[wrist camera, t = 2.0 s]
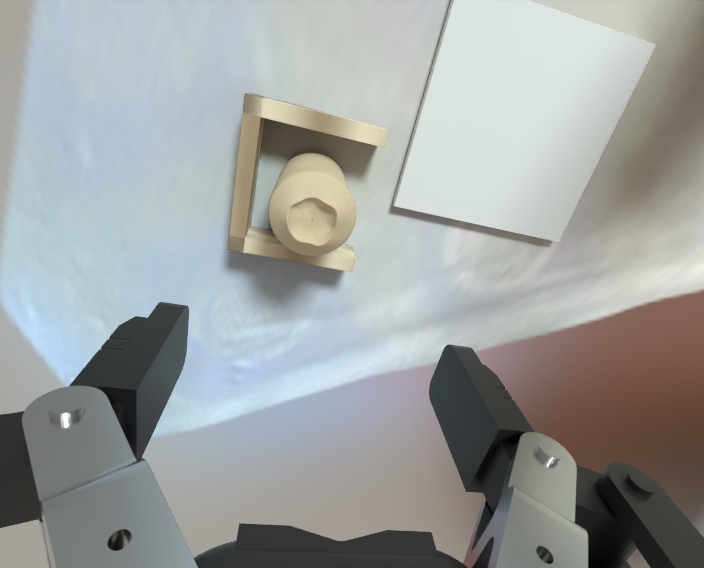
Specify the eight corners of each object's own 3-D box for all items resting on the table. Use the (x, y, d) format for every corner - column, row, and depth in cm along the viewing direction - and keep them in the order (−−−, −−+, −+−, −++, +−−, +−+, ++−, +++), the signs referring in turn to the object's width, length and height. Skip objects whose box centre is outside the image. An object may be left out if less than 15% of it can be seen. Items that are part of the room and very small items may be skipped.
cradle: (234, 236, 33) (227, 249, 30) (251, 93, 28) (244, 93, 26) (349, 258, 35) (352, 272, 32) (382, 127, 30) (389, 130, 28)
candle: (333, 141, 30) (342, 162, 21) (353, 206, 33) (369, 248, 24) (268, 164, 31) (250, 193, 22) (293, 226, 33) (286, 276, 24)
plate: (456, -21, 26) (460, -24, 26) (647, 45, 29) (656, 44, 29) (392, 203, 33) (394, 206, 32) (553, 239, 36) (558, 242, 35)
